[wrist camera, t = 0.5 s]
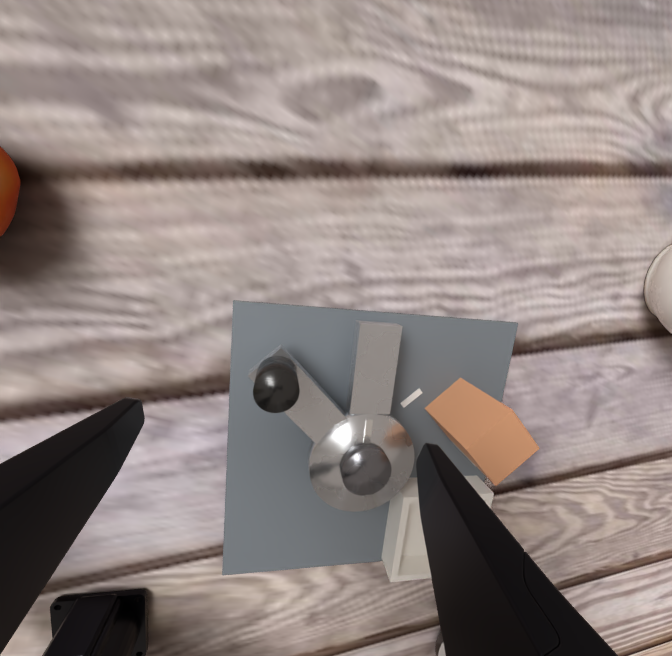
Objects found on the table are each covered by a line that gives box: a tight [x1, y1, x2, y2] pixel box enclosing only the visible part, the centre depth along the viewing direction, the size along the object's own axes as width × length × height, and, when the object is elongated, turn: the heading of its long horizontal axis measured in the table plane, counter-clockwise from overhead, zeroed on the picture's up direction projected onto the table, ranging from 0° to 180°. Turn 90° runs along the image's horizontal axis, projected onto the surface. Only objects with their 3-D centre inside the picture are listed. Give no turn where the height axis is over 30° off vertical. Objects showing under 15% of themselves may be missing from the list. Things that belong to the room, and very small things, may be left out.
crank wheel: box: [248, 320, 414, 512], centre depth 21 cm, size 14×13×4 cm
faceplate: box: [222, 300, 518, 575], centre depth 24 cm, size 23×23×3 cm
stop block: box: [425, 378, 540, 486], centre depth 24 cm, size 4×4×6 cm
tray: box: [381, 475, 494, 582], centre depth 27 cm, size 8×8×2 cm
